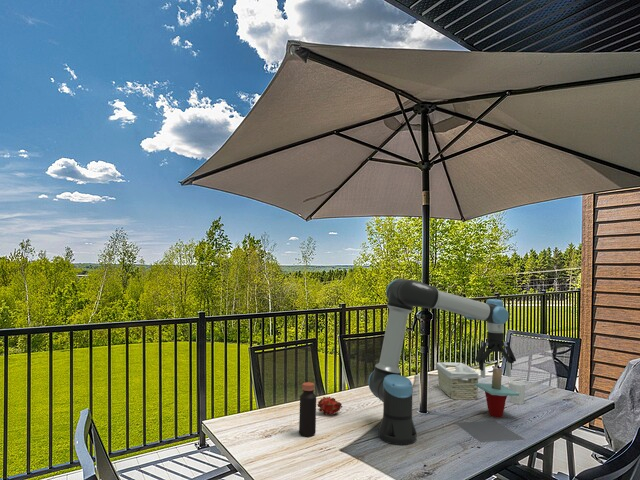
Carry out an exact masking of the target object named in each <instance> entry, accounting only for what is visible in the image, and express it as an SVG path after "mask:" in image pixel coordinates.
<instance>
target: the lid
mask: <svg viewBox="0 0 640 480" xmlns="http://www.w3.org/2000/svg"><path fill="white" fill-rule="evenodd" d="M502 377H503V369H501V368H498V367H493V368H492V378H491V383H482V382H478V383H474V385H475V386H477V387H478V389H481V390H482V391H484V392H485V391H486V392H488V393H489V394H491V395H507V397H510V396H519V393H517V392H515V391H513V390H511V389H509V387H506V386H505V385H502V380H503V379H502Z"/></svg>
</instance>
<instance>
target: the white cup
mask: <svg viewBox="0 0 640 480" xmlns="http://www.w3.org/2000/svg"><path fill="white" fill-rule="evenodd" d="M508 388H509V389H511V390H513V391H515V392H517V393H519V396H509V402H510V403H512V404H515V405H524V404H525V397H526V383H525V382H522V381H517V380H510V381H508Z"/></svg>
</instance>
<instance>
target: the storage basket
mask: <svg viewBox="0 0 640 480" xmlns="http://www.w3.org/2000/svg"><path fill="white" fill-rule="evenodd" d="M448 368H455V370H449V369H448ZM436 369H437V377H438V380H437V381H438V387H439V389H441V390H442V391H443V392H444V393H445V394H446V396H449V398H451V399H452V400H477V399H478V392H479V391H478V389H479V387H477V386H475V385H474V383H479V378H480V375H479V372H477V371H476V370H475V369H473V368H472V367H470V366H469V365H467V364H466V363H463V362H452V361H451V362H450V361H448V362H447V361H445V362H436Z"/></svg>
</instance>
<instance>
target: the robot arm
mask: <svg viewBox="0 0 640 480" xmlns="http://www.w3.org/2000/svg"><path fill="white" fill-rule="evenodd" d="M385 295H386V299H387V304H386V307H387V308H388V309H389V310H388V317H387V321H386V326H385V331H384V336H383V342H382V347H381V352H380V357H379V362H378V363H376V364H375V365H374V370H373V371H372V372H371V373H370V374H369V376H368V383H367V385H368V387H369V390H370V391H371V393H372V395H374V397H376V398H377V399H378V400H380V401H381V402H382V403H383V407H382V408H383V409H382V411H383V412H382V413H383V415H382V419H381V423H380V425H379V428H378V437H379V438H380V439H381V440H382V441H384V442H385V443H389V444H392V445H398V446H403V445H404V446H405V445H410V444H414V443H415V442H417V435H418V434H417V430H416V427H415V424H414V420H413V393H414V389H413V383H412V381H411V379H410V378H409V377H406V376H405V375H401V373H402V371H401V370H400V368H399V365H400V360H401V353H402V350H403V345H404V340H405V334H406V328H407V325H408V324H407V323H408V318H409V314H410V313H412V312H414V311H413V310H414V307H417V308H425V309H429V310H432V309H439V310H443V311H446V312H451V313H453V314H459V315H462V316H464V317H465V319H467V320H474V321H475V320H476V321H477V320H478V321H483V322H486V339H487V341H486V342H485V341H481V342H480V348H479V350H478V352H477V354H476V357H475V359H474V361H475V362H477V363H478V370H479V371H480V378H483V379H486V363H485V362H486V361H487V359H488V358H489V356H490V355H491V354H492V353H495V352H497V353H498V352H499V353H501V356H503V358H505V360H506V362H505V376H506V377H508V378H512V370H513V364H514V363H515V362H517V358H516V356H515V354H514V353H513V350H512V348H511V343H510V342H509V341H504V340H505V332H504V331H505V328H504V327H505V326H504V324H506V323H507V322H508V321H509V317H510V316H509V315H510V314H509V311H508V309H506V307H504V301H503V300H502V299H496V298H495V299H494V298H489V299H486V303H485V302H482V301H480V300H479V301H478V300H475V299H471V298H468V297H464V296H460V295H456V294H454V293H449V292H445V291H442V290H439V289H438V288H437V287H436V286H432V285H429V284H426V283H425V282H421V281H419V280H415V279H408V278H407V279H406V278H397V279H394V280H392V281H391V282H389V283H388V284H387V287H386V290H385Z"/></svg>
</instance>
